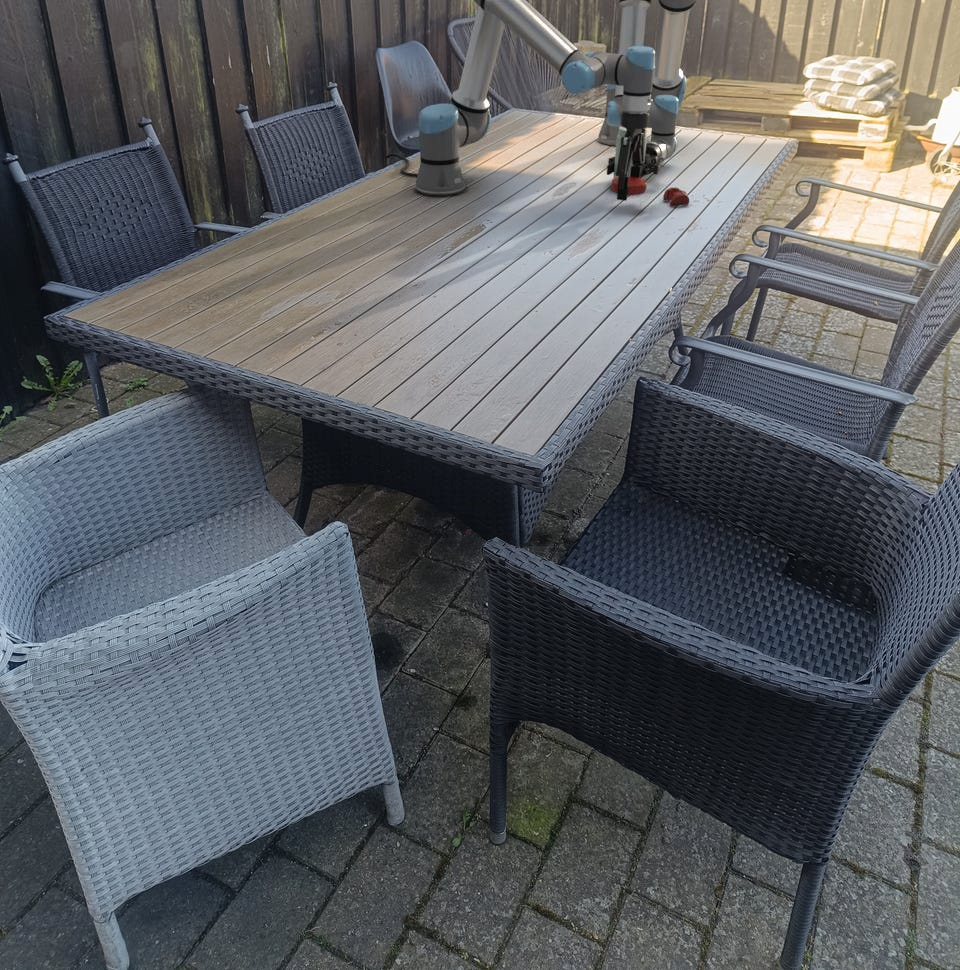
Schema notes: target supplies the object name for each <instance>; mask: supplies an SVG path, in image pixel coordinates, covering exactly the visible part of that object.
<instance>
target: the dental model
mask: <svg viewBox="0 0 960 970" xmlns="http://www.w3.org/2000/svg"><path fill="white" fill-rule="evenodd" d="M662 201H670V202H669V205H670V207H676V206H688V205H689V204H690V198H689V196H688V195H687V192H686V190H683V189H680V188H679V187H669V188H668V189H666V190H665V191H664V193H663V199H662Z"/></svg>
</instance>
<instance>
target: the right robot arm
mask: <svg viewBox="0 0 960 970" xmlns="http://www.w3.org/2000/svg"><path fill="white" fill-rule="evenodd" d="M618 3H619V7H620V9H621V17H620V18H621V19H620V20H621V21H620V30H619V31H620V32H619V41H618V53H617V54H626V53H627V49H628V48H629V47H633V46H644V42H645V33H646V21H647V11H648V9H649V8H650V7H651V6H652V5H651V4H652V0H619V2H618ZM696 3H697V0H658V5H659V6H660V8H661V15H660V22H659V29H658V37H657V45H656V51H655V69H654V75H653V83H652V93H651V99H652V100H653V101H652V103H650V110H649V111H648V112H649V124H648V126H647V127H646V128H647V129H651V131H650V140H649V141H647V142H646V151H645V160H644V163H645V164H644V167H641V172H640V178H642V177H645V176H647V175H651V174H652V173H653V175H658V174H659V173H660V170H661V169H662V168H664V166H665V161H666V160H668V159H670V158H671V157H673V155H674V154H675V153H676V151H677V149H678V140H677V138H676V129H677V128H676V127H677V121H678V114H679V110H680V109H681V107H682V104H683V101H684V98H685V92H686V88H687V77H686V76H685V75H684V73H683V70H682V69H681V63H682V59H683V52H684V46H685V40H686V33H687V29H688V22H689V17H690V11H691V10H692V9H693V8H694V7H695V6H696ZM606 90H607V93H606V102H605V114H604V120H603V122H602V125H601V127H600V129H599V132H598V135H597V141H598V142H599V143H601V144H603V145H607V146H614V147H616V143H617V135H618V133H619V127H621V113H622V112H623V111H624V110H622V100H623V90H624V86H619V85H610V84H607V87H606ZM607 160H608V161H607V166H606V167H607V168H606V175H607V176H610V175H611V174H614V165H615V156H612V157H609V158H608V159H607ZM642 179H643V178H642Z"/></svg>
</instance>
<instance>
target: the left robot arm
mask: <svg viewBox="0 0 960 970" xmlns="http://www.w3.org/2000/svg"><path fill="white" fill-rule="evenodd" d="M473 2H475V4H477V9H476V14H475V17H474V22H473V26H472V30H471V35H470V39H469V44H468V48H467V52H466V56H465V60H464V65H463V69H462V73H461V77H460V82H459V86H458V89H456V90H455V91H453V92H452V94H451V98H450V102H449V103H436V104H431V105H428V106H426V107H424V108H422V109H421V110H420V112H419V114H418V126H417V127H418V134H419V135H418V136H419V138H418V139H419V157H420V158H419V159H420V161H419V162H420V164H419V168H418V172H417V173H414V172H407V171H405V170H406V169H408V167H409V165H410V159H407V158H406V157H405V156H402V155H400V154H398V153H393V152H392V153H391V152H390V153H389V154H387V155H386V157H385V159H390V157H396V158H399V159H401V160H402V161H404V162H406V163H405V165H404V166H403V167H402V168H400V173H401V174H402V175H404V176H409V177H416V180H415V192H417V193H418V194H420V195H424V196H430V197H450V196H455V195H459V194H461V193H463V192H464V191H466V181H465V179H464V176H463V172H462V169H461V165H460V148H463V147H466V146H468V145H471V144H475V143H477V142H479V141H480V140H482V139H483V138H484V137H486V136H487V134H488V133H489V130H490V128H491V125H492V114H491V113H490V102H489V100H488V98H487V95H488V92H489V89H490V84H491V80H492V76H493V72H494V68H495V65H496V61H497V57H498V53H499V50H500V45H501V42H502V38H503V34H504V29H505V26H506V27H507V28H509V29H510V30H511V31H512V32H513V33H514V34H515V35H516V36H517V37H518V38H519V39H520V40H522V41H523V42H524V43H525V44H526V45H527V46H528V48H530V49H531V50H532V51H534V52H535V53H536V54H537V56H539V57H540V58H541V59H542V60H543V61H544V62H545V63H546V64H548V66H549V67H550V68H552V69H553V70H554V71H555V72H556V73H557V74H558V75H559V76H560V77H561V83H562V85H563V88H564V89H565V91H567V92H568V93H570V94H572V95H578V94H585V93H587V92H589V91H591V90H593V89H597V88H599V87H601V86H604V85H608V84H610V85H619V86H624V90H623V100H622V110H624V111H623V112H622V113H621V126H622V127H624V128H626V129H627V131H626V134H625V136H624V137H622V138H621V147H620V153H619V159H618V165H617V171H616V174H615V175H616V176H619V179H618V190H617V193H616V201H617V200H618V201H625V202H626V201H627V200H628V195H627V192H628V181H629V176H628V172H629V168H630V164H631V159H632V163H633V165H634V166H631V174H630V177H638V178H640V172H641V167H640V166H642V167H644V164H645V163H642V162H644V147H645V131H646V129H645V128H646V127H647V126H648V124H649V112H648V111H649V110H650V103H652V101H653V100H652V99H651V93H652V83H653V75H654V69H655V59H656V51H655V49H654V48H653V47H651V46H645V45H643V46H633V47H629V48H628V49H627V53H626V54H618V53H612V52H603V51H589V52H587V53H586V54H584V53H583V52H581V50H579V48H578V47H576V45H575V44H573V43H572V42H571V41H570V40H569V39H568V38H567V37H566V36H565V35H563V34H562V32H561V31H559V30H558V29H557V28H556V27H555V26H554V25H553V24H552V23H551V22H550V21H548V20H547V19H546V18H545V17H544V16H543V15H542V14H541V13H540V12H539V11H538V10H537V9H536V8H534V7H533V6H532V5H531V4H530V3H529V2H528V1H527V0H473Z"/></svg>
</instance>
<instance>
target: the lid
mask: <svg viewBox="0 0 960 970" xmlns="http://www.w3.org/2000/svg"><path fill="white" fill-rule="evenodd" d="M618 179H619V177H617V178H614V179H613V178H612V180H611V185H610V190H611V192H613V193H614V194H617V190H618ZM647 184H648V182H647V180H646V179H645V178H638V177H629V181H628V192H627V196H638V195H641V194H644V193H646V192H647Z"/></svg>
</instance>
